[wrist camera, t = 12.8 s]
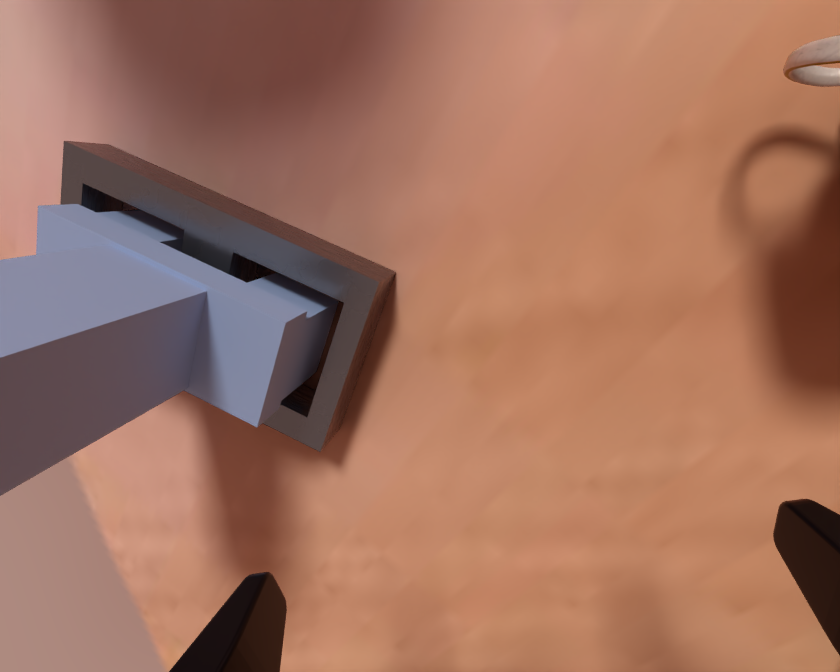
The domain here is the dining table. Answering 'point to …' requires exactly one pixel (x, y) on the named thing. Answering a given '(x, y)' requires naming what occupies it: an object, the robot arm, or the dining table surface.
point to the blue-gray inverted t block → (137, 335)
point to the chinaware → (815, 63)
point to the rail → (247, 266)
